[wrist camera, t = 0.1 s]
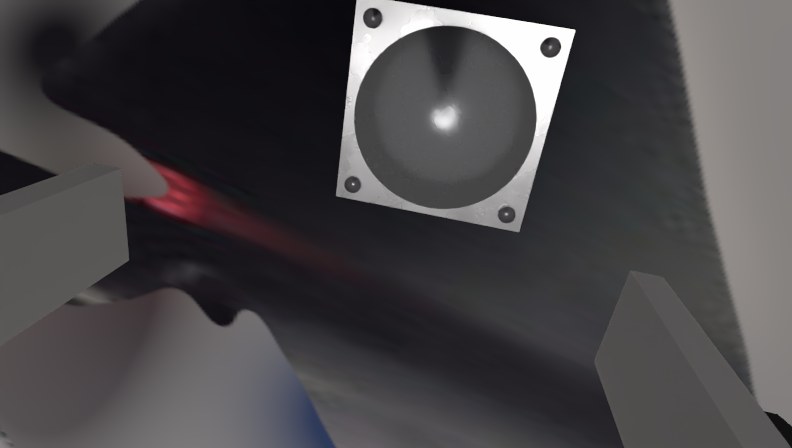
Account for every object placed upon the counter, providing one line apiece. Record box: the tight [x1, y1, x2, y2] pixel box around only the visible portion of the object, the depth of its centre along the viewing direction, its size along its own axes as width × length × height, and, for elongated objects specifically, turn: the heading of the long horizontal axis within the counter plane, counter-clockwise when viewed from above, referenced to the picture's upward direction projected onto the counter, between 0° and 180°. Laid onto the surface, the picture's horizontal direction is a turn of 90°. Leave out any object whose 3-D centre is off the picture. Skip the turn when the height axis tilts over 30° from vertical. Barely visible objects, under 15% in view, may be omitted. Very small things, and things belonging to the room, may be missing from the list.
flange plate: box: [336, 0, 575, 232], centre depth 37 cm, size 16×16×2 cm
